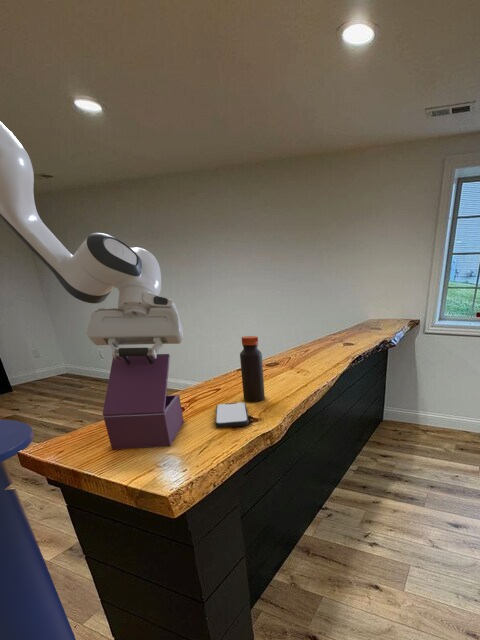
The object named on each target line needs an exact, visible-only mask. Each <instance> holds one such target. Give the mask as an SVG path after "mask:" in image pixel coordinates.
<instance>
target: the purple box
mask: <svg viewBox="0 0 480 640" xmlns="http://www.w3.org/2000/svg"><path fill="white" fill-rule="evenodd" d="M103 421H104V424H105V427H106V432H107V435H108V439H109V443H110V447H111V450H125V449H126V450H127V449H141V448H142V449H143V448H161V447H171V446H172V444H173V442H174V440H175V438H176V437H177V435H178V433H179V431H180V430H181V428H182V426H183V424H184V423H185V421H184V415H183V409H182V402H181V397H180V394H166V404H165V413H163V414H142V415H120V416H103Z"/></svg>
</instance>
